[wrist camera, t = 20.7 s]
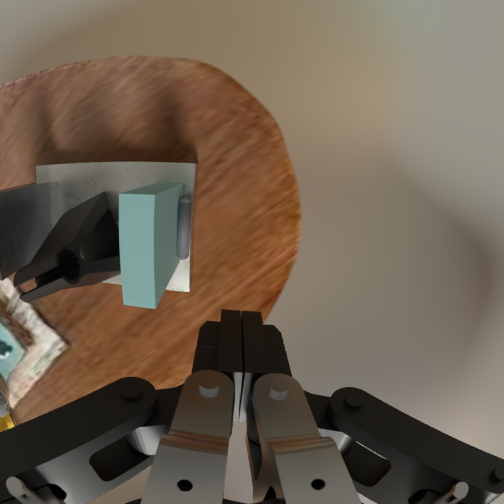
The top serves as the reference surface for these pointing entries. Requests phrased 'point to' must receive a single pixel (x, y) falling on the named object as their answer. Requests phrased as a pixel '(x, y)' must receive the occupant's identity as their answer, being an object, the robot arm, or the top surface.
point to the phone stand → (75, 251)
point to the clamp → (6, 422)
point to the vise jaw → (152, 240)
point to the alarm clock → (4, 398)
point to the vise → (74, 193)
